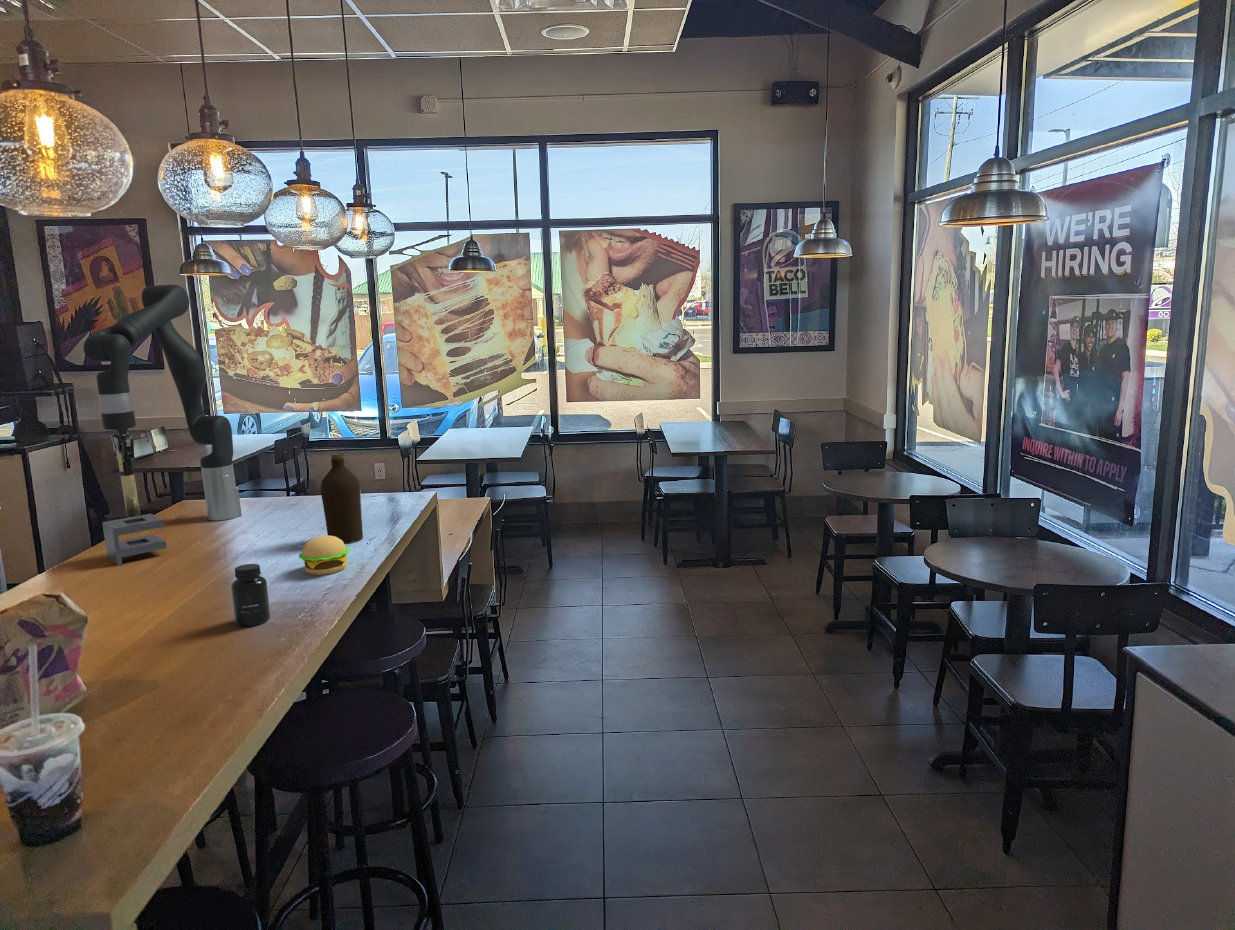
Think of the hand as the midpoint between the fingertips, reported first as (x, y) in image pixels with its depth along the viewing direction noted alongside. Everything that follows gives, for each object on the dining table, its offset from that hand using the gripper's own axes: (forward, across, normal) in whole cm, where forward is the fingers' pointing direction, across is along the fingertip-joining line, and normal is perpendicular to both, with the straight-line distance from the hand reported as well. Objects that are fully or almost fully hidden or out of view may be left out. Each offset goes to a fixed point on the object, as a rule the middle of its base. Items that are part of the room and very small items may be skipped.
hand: (127, 473), depth 216 cm
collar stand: (+23, 0, 0) cm, 23 cm away
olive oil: (+23, -31, -45) cm, 59 cm away
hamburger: (+23, -53, -29) cm, 65 cm away
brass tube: (+12, 0, 0) cm, 12 cm away
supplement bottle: (+23, -75, -3) cm, 79 cm away
